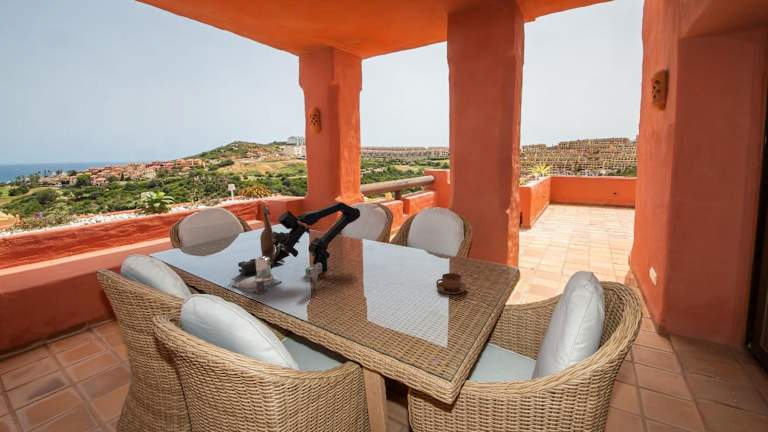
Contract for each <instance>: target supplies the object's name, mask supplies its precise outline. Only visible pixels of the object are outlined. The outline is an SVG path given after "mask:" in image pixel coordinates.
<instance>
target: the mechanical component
mask: <svg viewBox="0 0 768 432" xmlns="http://www.w3.org/2000/svg"><path fill="white" fill-rule="evenodd" d="M304 271H305V276H306V277H308V278H311V279H312V287H313V288H312V289H313V290H314V289H315V290H317V289H318V281H317V279H318V278H319V277H318V275H319V274H321V273H322V272H323V271H322V264H321V263H317V264H316V265H313V264H311V265H309V266H308V267H306V268H305V270H304Z"/></svg>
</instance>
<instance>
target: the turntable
mask: <svg viewBox="0 0 768 432" xmlns="http://www.w3.org/2000/svg"><path fill="white" fill-rule="evenodd" d="M256 276H257V275H255V276H250V277H246V278H245V279H243V280H241V281H237V282H234V283H231V286H232V287H234V288H236V289H238V290H241V291H244V292H245V293H248V294H254V293H255V292H254V290H256V289H257V287H256V281H255V277H256ZM282 283H283V281H282V280H280V279H276V278H274V279H273V280H271V281H268V282H264V288H265V289H268V288H271V287H273V286H276V285H280V284H282Z"/></svg>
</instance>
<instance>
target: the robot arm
mask: <svg viewBox="0 0 768 432" xmlns="http://www.w3.org/2000/svg"><path fill="white" fill-rule="evenodd" d="M337 212H341V213H342V214H341V217H340V219H339V220H337V222H336V223H334V224H333V226H332V227H331V228H329V230H327V232H325V234H323V236H322V237H320V238H319V237H314V239H313V240H312V241H311V242H309V245H308V253H310V254H311V256H312V257H313V260H312V265H316V264H317V263H321V264H322V272H327V271H328V270H329V267H330V266H329V260H328V259H329V258H330V256H331V253H330V252H328V251H327V250H328V248H329V245H330V243H331V242H332V241H333V240H334V239H335V238H336V237H337V236H338V235H339V234H340V233H341V232H342V231H343V230H344V229H345V228H346V227H347V226H348V225H350V224H352V223H354V222H355V221H357V220H358V219H359V218H360V217H361V210H360V209H359V208H357V207H352V206H350V205H348V204H346V203H345V202H342V201H337V202H335V203H332V204H330V205H328V206H324V207H322V208H320V209H317V210H310V211H305V212H302V213H301V214H300V215H297V216H295V215H294V214H293V213H292V212H291V211H290V210H286V211H285V212H284V213H282V214H281V215H280V216H279V217H278V218H277V222H278V223H279V224H280V225H281V226H283V227H284V228H285V229H286V230H290V231H289V232H283V231H280V232H278V231H277V232H276V231H275V230H272V231H273V234H272V237H271V238H273V239H274V240H273V241H272V243H273V244H274V245H275V255H274V258H273V260H272V263H271V264H277V263H279V262H278V261H280V260H282V259H283V260H284V259H285V258H288V257H290V256H291V255H292V256H293V257H294V258H297V256H298V255H299V251H298V249H296V248H295V245H296V244H299V243H300V242H301V241H300V239H301V238H302V237H303V235H304V234H305V233H306V234H310V233H311V231H310V227H311V226H314V225H315V224H316V223H318V222H319V221H320V220H321V219H323V218H326V217H328V216H331V215H333V214H336V213H337ZM306 226H307V227H306ZM290 254H291V255H290Z"/></svg>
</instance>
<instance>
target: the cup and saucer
mask: <svg viewBox="0 0 768 432" xmlns="http://www.w3.org/2000/svg"><path fill="white" fill-rule="evenodd" d="M435 284H436V289H437V291H439V292H441V293H444V294H448V295H459V294H461V293H464V292H465V291H467V285H466V284H465V283H462V276H461V274H458V273H451V272H447V273H444V274H442V276H441V278H439V279H437V280H436V282H435Z"/></svg>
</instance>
